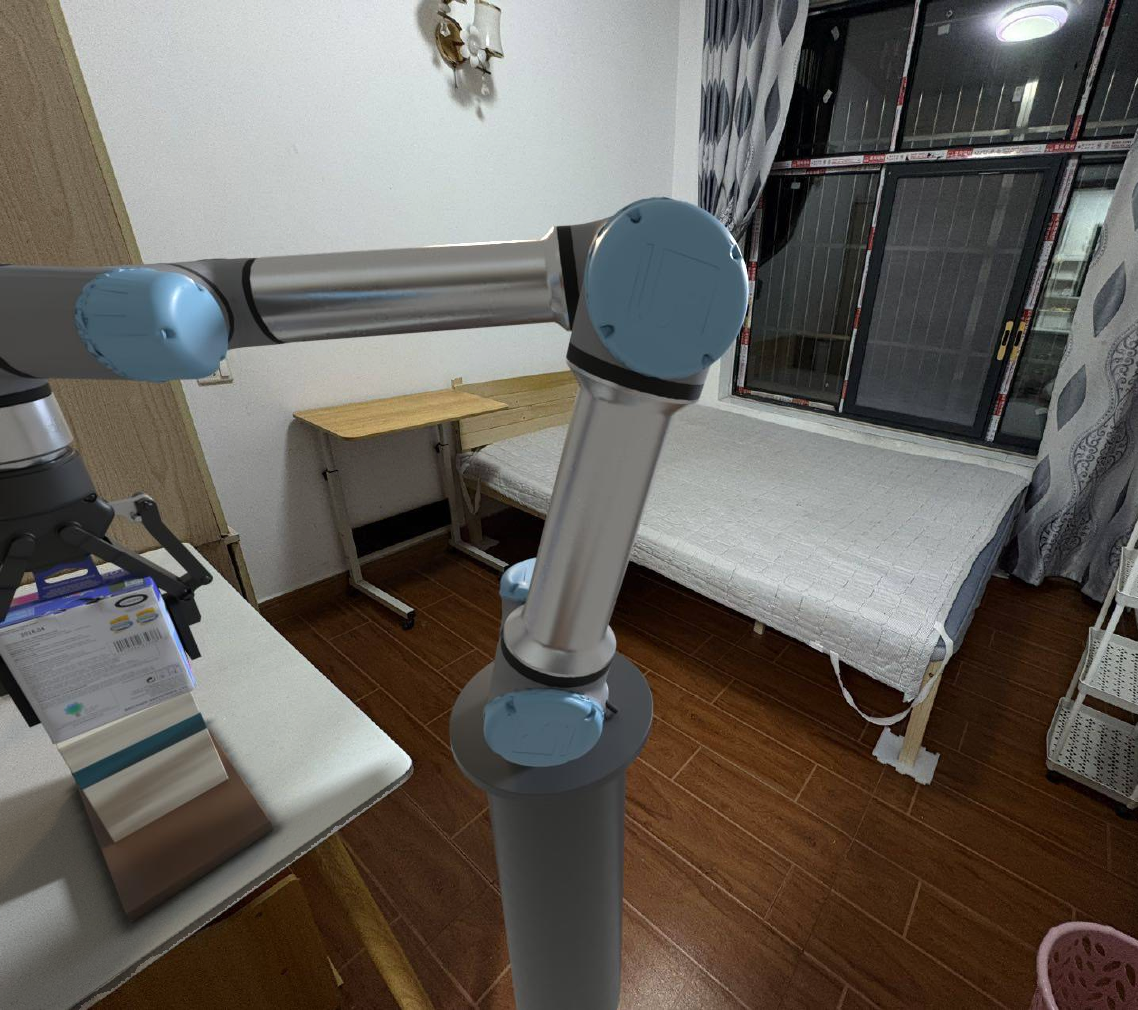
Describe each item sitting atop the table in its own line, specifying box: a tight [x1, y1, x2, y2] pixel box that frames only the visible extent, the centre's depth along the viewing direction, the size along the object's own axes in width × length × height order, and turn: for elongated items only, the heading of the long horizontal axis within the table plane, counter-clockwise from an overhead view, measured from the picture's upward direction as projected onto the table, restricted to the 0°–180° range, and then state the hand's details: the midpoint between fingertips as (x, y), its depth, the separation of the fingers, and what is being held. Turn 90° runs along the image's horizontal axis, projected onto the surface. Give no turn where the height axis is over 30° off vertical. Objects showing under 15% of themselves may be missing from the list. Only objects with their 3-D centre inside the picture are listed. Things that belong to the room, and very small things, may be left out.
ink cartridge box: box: [0, 554, 197, 745], centre depth 48 cm, size 10×6×14 cm, turn 136°
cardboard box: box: [55, 691, 275, 923], centre depth 59 cm, size 23×12×16 cm, turn 53°
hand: (119, 682), depth 50 cm, fingers closed on ink cartridge box, 10 cm apart
